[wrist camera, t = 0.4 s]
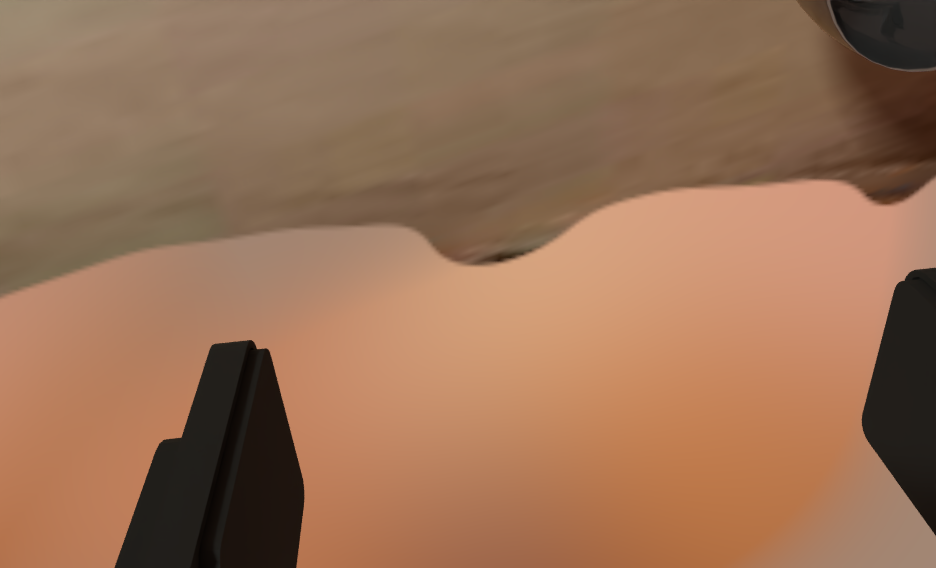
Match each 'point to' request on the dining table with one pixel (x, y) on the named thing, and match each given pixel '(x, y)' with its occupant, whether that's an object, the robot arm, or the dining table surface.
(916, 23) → the wine glass
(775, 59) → the dining table surface
